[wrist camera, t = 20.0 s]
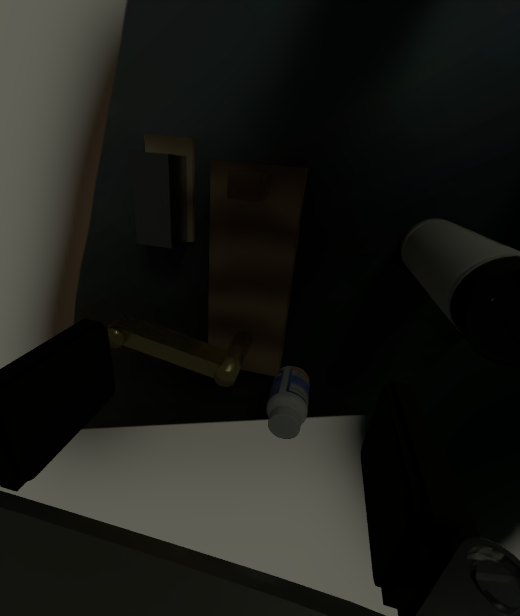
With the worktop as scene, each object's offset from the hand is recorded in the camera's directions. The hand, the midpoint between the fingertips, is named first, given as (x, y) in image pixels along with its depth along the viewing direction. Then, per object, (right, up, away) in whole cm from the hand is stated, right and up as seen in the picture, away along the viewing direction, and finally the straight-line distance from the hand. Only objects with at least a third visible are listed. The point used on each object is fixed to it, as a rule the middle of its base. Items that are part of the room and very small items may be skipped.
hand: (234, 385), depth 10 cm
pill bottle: (+6, -8, +36) cm, 38 cm away
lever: (-7, +1, +30) cm, 31 cm away
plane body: (0, +7, +30) cm, 31 cm away
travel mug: (+20, +10, +25) cm, 34 cm away
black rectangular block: (-10, +16, +28) cm, 34 cm away
